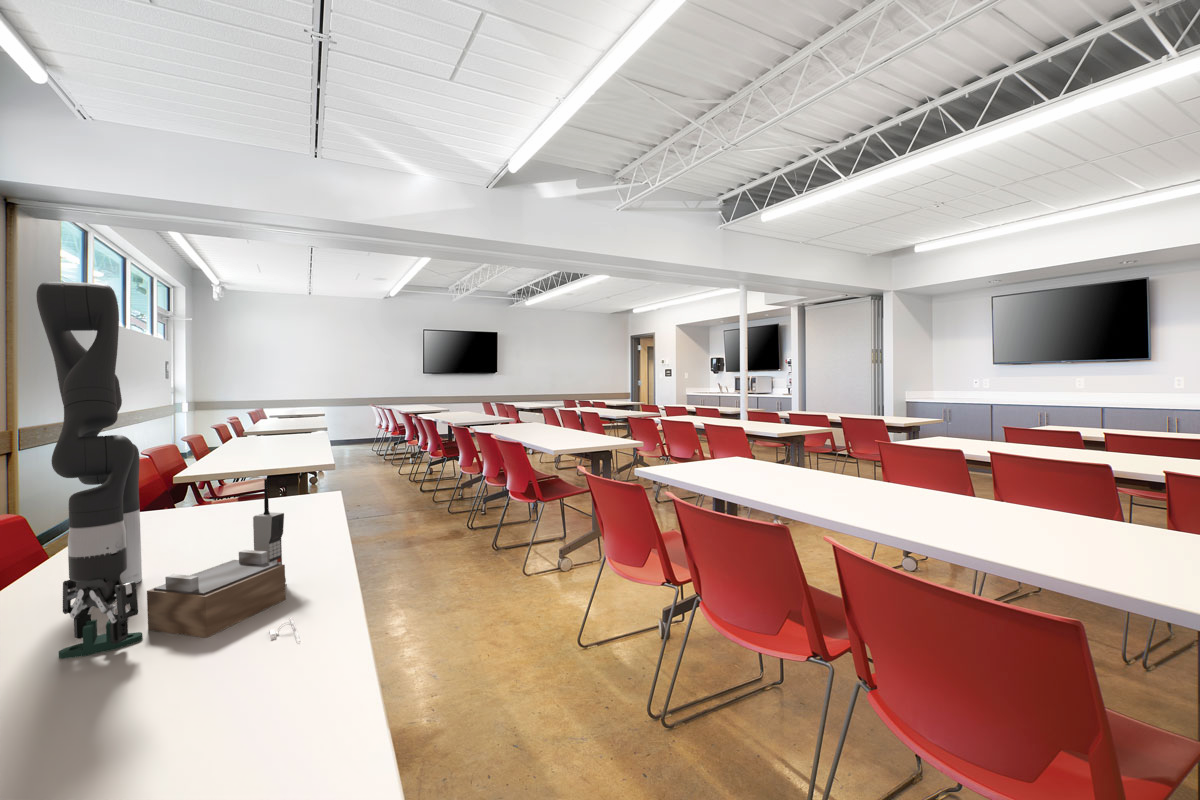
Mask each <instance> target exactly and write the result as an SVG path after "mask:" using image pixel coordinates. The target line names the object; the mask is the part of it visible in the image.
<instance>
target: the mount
mask: <svg viewBox="0 0 1200 800" xmlns="http://www.w3.org/2000/svg"><path fill="white" fill-rule="evenodd" d="M110 623H112V622H111V621H110V619H109V618H108V620H107V622H106V624H105V633H102V634H101V633H100V634H98V619H97V618H96V619H91V620H90V621H87V622H86V626H84V627H83V638H82V642H80V643H77V644H74V645H71V646H67V647H64V648H62V649H60V650H58V659H61V660H62V659H63V660H64V659H73V658H79V657H80V658H81V657H86V656H91V655H95V654H101V653H105V652H108V651H113V650H117V649H120V648H124V647H128V646H130V645H133V644H136V643H139V642H140V641H142V640H143V637H144V636H143V632H141V631H138V632H128V637H127V639H126V640H124V641H122V642H119V643H117V644H113V643H111V637H110Z"/></svg>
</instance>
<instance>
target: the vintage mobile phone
mask: <svg viewBox="0 0 1200 800" xmlns="http://www.w3.org/2000/svg"><path fill="white" fill-rule="evenodd" d="M263 480H264V482H263V483H264V484H263V485H264V499H263V500H264V502H263V504H264V505H263V506H264V511H263V512H262V513H259V514H256V515H254V516H253V517H252V519H253V520H252V526H253V529H252V530H253V550H254V551H267V561H268V562H269V563H279V564H282V565H283V553H282V551H283V550H282V536H283V534H284V526H285V525H284V524H285V523H284V521H285V513H284V512H270V511H269V509H270V508H269V497H268V495H269V493H268V479H267V478H265V479H263ZM286 583H287V578H286V577H285V584H286Z"/></svg>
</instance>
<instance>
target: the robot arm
mask: <svg viewBox="0 0 1200 800" xmlns="http://www.w3.org/2000/svg"><path fill="white" fill-rule="evenodd" d="M35 295H36V297H35V298H36V305H37V308H38V313H39V316H40V320H41V322H42V326H43V328H44V331H45V334H46V337H47V338H46V339H48V343H49V347H50V349H51V353H52V356H53V359H54V365H55V369H56V375H57V382H58V387H59V393H60V397H61V401H62V406H63V423H62V428H61V431H60V433H59V437H58V440H57V442H56V445H55V447H54V449H53V453H52V455H51V467H52V469H53V471H54V472H55V473H56V474H57V475H59V476H60V477H61V478H64V479H65V478H66V479H76V478H77V479H78V480H79V482H81V484H83V485H87V486H95V485H98V486H96V487H92V488H88V489H84V490H81V491H77V492H75V493H73V494H72V495H70V496H69V499H68V526H69V528H68V529H69V530H68V536H67V556H68V557H67V558H68V559H67V561H68V579H67V580H64V581H63V582H62V614H64V615H67V614H69V616H70V618H71V619H73V632H74V634H73V635H74V638H75V639H76V640H77V639H78V640H81V639H83V627H84V626H86V622H87V621H90V620H92V614H91V611H92V610H93V609H94V608H97V609H98V610H100V612H101V613H102V614H106V615H107V617H108V620H109V619H110V621H111V622H112V623H110V637H111V643H113V644H117V643H119V642H122V641H124V640H126V639H127V637H128V633H129V626H128V625H129V624H128V623H129V622H128V620H129V618H131V617H134V616H136V615H138V614H139V606H138V593H137V592H138V591H137V584H138V583H140V582H141V581H142V580H143V572H142V570H143V568H142V566H143V565H142V561H143V560H142V541H141V539H142V537H141V511H140V489H139V487H140V485H139V484H140V482H139V481H140V451H139V448H138V447H137V445H136V444H134V443H133V441H132V440H131V439H130V438H128V437H127V436H125V435H123V434H122V435H120V434H111V435H100V433H101V432H102V431H103V430H104V429H106V428H108V427H111V426H113V425H114V424H116V422H117V421H118V418H119V417H118V415H119V411H120V409H121V407H122V404H123V403H122V402H123V399H122V394H121V387H120V380H119V377H118V376H117V374H116V366H117V357H118V349H119V348H118V345H119V331H120V330H119V328H120V327H119V326H120V312H119V311H120V308H119V304H118V303H119V302H118V299H117V296H116V293H115V291H114V288H113V287H111V286H110V285H108V284H106V283H96V282H80V281H79V282H77V281H73V282H71V281H45V282H42V283H40V284H39V285H38V286H37V290H36V294H35ZM72 331H73V332H74V331H76V332H77V331H81V332H83V331H85V332H87V331H88V332H89V331H90V332H91V331H94V332H96V336H95V338H94V341H93V343H92V344H91V346H90V347H88V348H89V349H88V350H87V349H86V348H84V346H83V345H81V343H80V342H79V341H78V340H77V338H76V337H75V336H74V334H73V333H72ZM74 599H75V600H74ZM72 600H74V601H73V602H72ZM115 601H116V602H115ZM71 602H72V603H71ZM127 605H129V608H128V606H127ZM115 610H117V613H116V611H115Z"/></svg>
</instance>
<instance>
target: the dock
mask: <svg viewBox="0 0 1200 800" xmlns="http://www.w3.org/2000/svg"><path fill="white" fill-rule="evenodd" d="M285 566H286V565H285V564H283V563H282V564H279V563H269V562H268V561H267V551H254V549H253V550H252V549H251V550H250V549H243V550H240V551H238V559H231V560H229V561H226V562H224V563H221V564H217V565H215V566H212V567H209V568H207V569H204V570H201V571H199V572H196V573H192V574H190V575H189V574H188V575H186V574H175V573H173V574H169V575H167V576H165V583H164V584H162V585H158V586H155V587H154V588H151V589H148V590H146V603H147V604H146V605H147V607H146V608H147V609H146V610H147V631H150V632H159V633H167V634H175V635H182V636H183V635H184V636H192V637H199V638H209V637H211V636H213V635H216V634H217V633H219V632H221V631H223V630H225V629H228V628H230V627H231V626H234V625H236V624H238V623H240V622H242V621H244V620H246V619H248V618H250V617H252V616H254V615H257V614H259V613H261V612H263V611H265V610H266V609H268V608H271V607H272V606H274V605H277V604H279V603H281V602H283V601H285V600H287V598H286V583H285V578H286V567H285Z"/></svg>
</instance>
